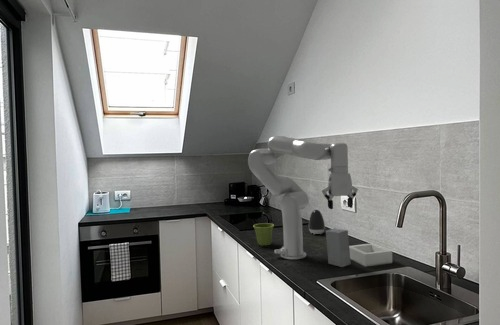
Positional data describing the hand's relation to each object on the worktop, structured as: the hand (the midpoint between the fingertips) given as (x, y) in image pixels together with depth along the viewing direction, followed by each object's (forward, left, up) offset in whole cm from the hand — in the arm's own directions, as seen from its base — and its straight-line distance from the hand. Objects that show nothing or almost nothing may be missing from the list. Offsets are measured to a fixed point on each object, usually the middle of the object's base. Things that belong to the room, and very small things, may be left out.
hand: (340, 207), depth 160 cm
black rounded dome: (+16, +58, -26) cm, 66 cm away
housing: (+14, 0, -26) cm, 29 cm away
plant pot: (-23, +45, -26) cm, 57 cm away
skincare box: (-2, 0, -26) cm, 26 cm away
